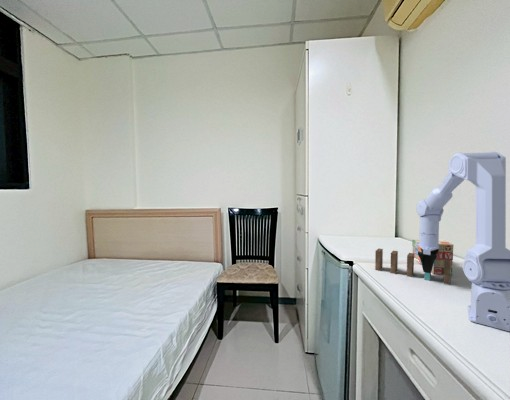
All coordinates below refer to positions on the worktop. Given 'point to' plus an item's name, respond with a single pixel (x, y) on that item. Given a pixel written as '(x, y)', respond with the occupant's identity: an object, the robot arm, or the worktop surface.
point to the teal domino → (427, 276)
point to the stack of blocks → (443, 253)
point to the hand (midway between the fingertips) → (428, 269)
